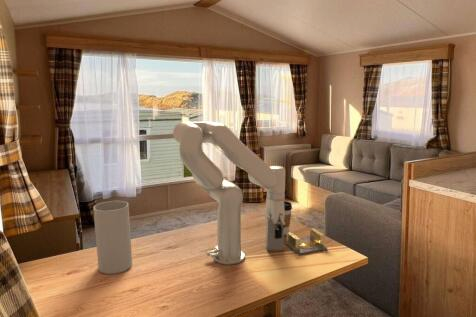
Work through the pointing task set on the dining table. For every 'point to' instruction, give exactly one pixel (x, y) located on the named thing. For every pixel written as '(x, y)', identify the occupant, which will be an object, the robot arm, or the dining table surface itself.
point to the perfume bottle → (273, 236)
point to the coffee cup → (287, 216)
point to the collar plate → (306, 242)
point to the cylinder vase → (113, 236)
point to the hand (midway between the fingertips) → (274, 234)
